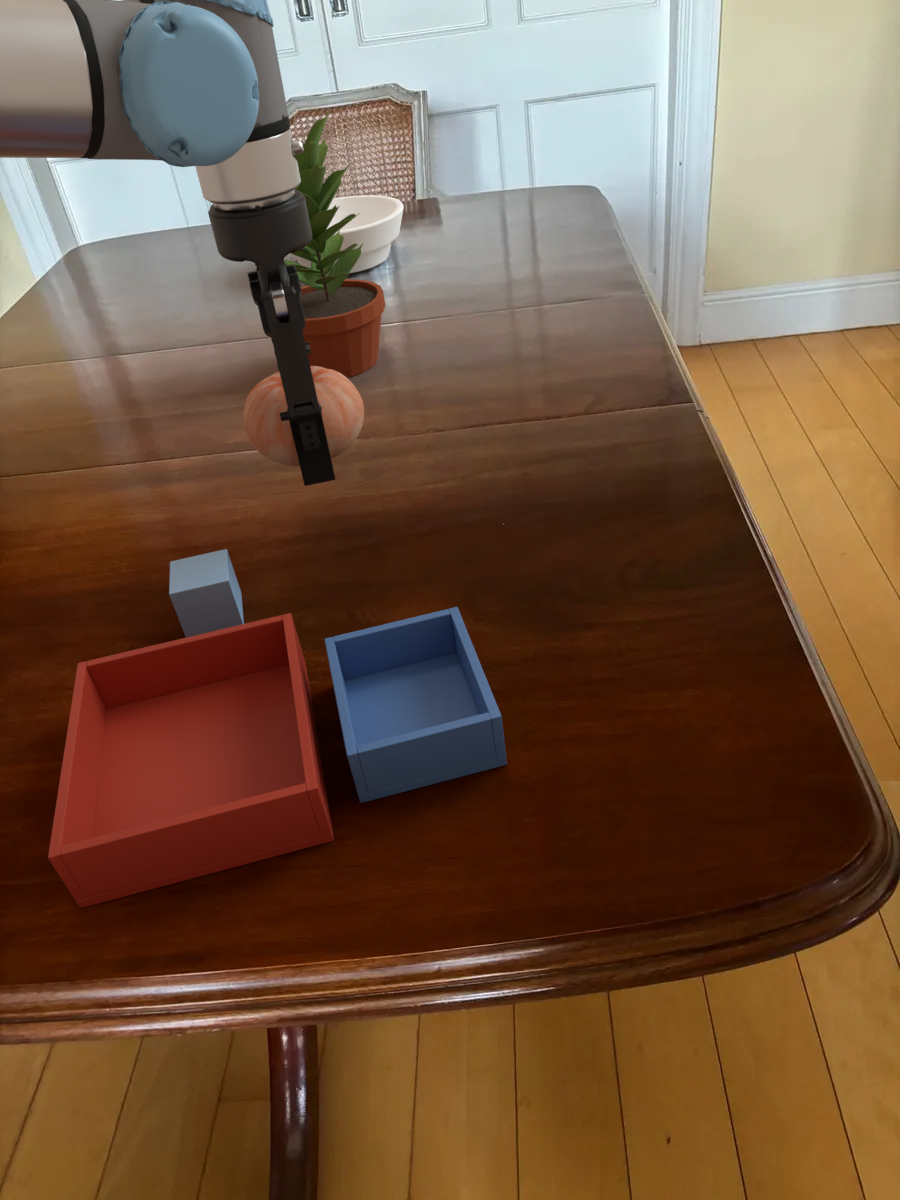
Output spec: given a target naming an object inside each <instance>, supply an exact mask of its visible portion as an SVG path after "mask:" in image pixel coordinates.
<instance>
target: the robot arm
mask: <svg viewBox="0 0 900 1200" xmlns="http://www.w3.org/2000/svg"><path fill="white" fill-rule="evenodd" d="M274 27H275V26H274V20H273V17H272V15H271V11H270V7H269V3H268V0H0V159H88V160H110V161H111V160H117V161H118V160H122V161H123V160H124V161H125V160H126V161H128V160H130V161H131V160H132V161H133V160H134V161H162V162H164V163H166V164H168V165H169V166H172V167H179V168H190V167H195V171H196V174H197V178H198V181H199V186H200V189H201V193H202V197H203V199H204V200H206V201H208V202H210V203H211V205H210V207H209V210H208V212H207V213H208V218H209V222H210V225H211V230H212V233H213V238H214V241H215V244H216V249H217V252H218V255H220V256H221V257H222V258H224V259H226V260H228V261H231V262H238V263H243V262H246V261H247V262H251V263H254V266H255V270H254V271H249V272H247V278H248V283H249V289H250V292H251V297H252V300H253V302H254V304H255V305H256V306H257V309H258V312H259V313H258V314H259V317H260V321H261V325H262V330H263V333H264V334H265V336H266V337H268V338H270V339H271V344H272V345H273V352H274V356H275V359H276V365H277V369H278V372H280V376H281V381H282V385H283V389H284V393H285V398H286V402H287V406H288V408H287V409H286V410H287V411H286V412H281V413H280V418H281V421H286V420H289V422H290V427H291V431H292V435H293V439H294V443H295V448H296V452H297V456H298V460H299V464H300V466H299V469H300V472H301V476H302V477H301V478H302V482H303V485H304V487H307V486H312V485H317V484H322V483H326V482H330V481H335V480H336V476H335V471H334V466H333V462H332V459H331V456H330V451H329V447H328V442H327V437H326V433H325V428H324V423H323V419H322V413H321V411H322V408H321V404H320V403H318V399H317V394H316V390H315V385H314V381H313V376H312V372H311V367H310V363H309V358H308V354H311V349H310V345H309V342H305V340H304V336H303V330H304V329H305V327H306V323H305V317H304V313H303V308H302V304H301V299H300V297H301V295H302V292H301V287H302V286H301V282H300V281H299V277H298V273H297V272H296V268H295V264H292V265H287V266H286V265H285V261H284V260H285V258H286V257H287V256H289V255H288V254H290V253H291V252H298V251H300V250H301V249H303V248H305V247H306V246H307V245H308V244H309V243H310V241H311V239H312V231H311V226H310V221H309V216H308V210H307V205H306V200H305V196H304V195H303V194H302V193H301V192H300V191H298V190H295V189H296V188H297V187H298V186H299V184H300V182H301V179H300V173H299V168H298V163H297V160H296V159H295V158H294V157H293V155H298V154H301V153H302V152H303V150H304V149H303V144H304V143H303V142H302V141H301V140H300V139H293V138H292V137H293V132H292V130H291V122H290V121H291V120H290V117H289V111H288V106H287V99H286V94H285V90H284V83H283V79H282V73H281V68H280V63H279V57H278V52H277V47H276V41H275V37H274V29H273V28H274ZM292 139H293V140H292Z"/></svg>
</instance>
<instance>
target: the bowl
mask: <svg viewBox="0 0 900 1200" xmlns="http://www.w3.org/2000/svg"><path fill="white" fill-rule="evenodd" d="M335 205H336V207H338V206H339V205H340V206H339V208H338V210H337V212H336V213H335V215H334V217H333V219H332V220H331V222H330V224H329V226H328V228H329V227H331V226H333V225H334V224H336V223H339V222H340V221H341V220H343V219H344V218H346V217H347V216H349V215H351V214H355V215H357V216H356V217H355V218H354V219H352V220H351V221H350V222H349V223H347V224H346V225H345V226H344V227H342V228H341V229H340V233H339V235H341V236H343V237H344V240H343V243H342V246H341V249H340V251H342V250H345V249H346V248H348V247H349V246H351V245H353V244H355V243H356V244H357V246H356V247H354V248H353V249H357V248H359V247H360V246H361V244H362V243H363V242H364V243H363V245H362V247H361V255H360V257H359V259H358V260H357V262H356V263H355V265H354V266H353V268H352V269H351V271H350V272H349V274H353V273H358V272H362V271H366V270H369V269H372V268H374V267H375V266H378V265H380V264H382V263H384V262H385V261H386V260H387V259H388V258H389V256H390V252H391V246H392V242H393V241H394V240H396V239H397V238H398V237H399V235H400V231H401V226H402V219H403V214H404V203H403V202H401V200H399V199H397V198H395V197H392V196H386V195H378V194H377V195H375V194H374V195H373V194H372V195H371V194H365V195H364V194H362V195H361V194H360V195H349V196H339V197H334V198H333V200H332V202H331V204H330V206H329V208H328V210H329V209H332V208H333V207H334V206H335ZM359 213H360V214H359ZM358 214H359V215H358ZM328 228H327V229H328ZM337 232H338V231H337ZM337 232H336V233H335V234H334V235H336V234H337ZM332 236H333V235H332ZM287 256H290V257H293V258H295V259H296V261H297V263H298V264H300V265H302V266H305V267H308V268H311V261H309V260H306V259H304V258H301V257H298V256H296V255H293V254H291V253H290V254H288V255H287ZM338 259H339V258H338ZM338 259H337V260H338ZM337 260H336V261H335V263H336V262H337ZM335 263H334V264H335ZM333 266H334V265H333ZM328 274H329V273H328ZM328 274H327V275H325V277H327V276H328Z"/></svg>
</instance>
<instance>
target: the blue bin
mask: <svg viewBox="0 0 900 1200" xmlns="http://www.w3.org/2000/svg"><path fill="white" fill-rule="evenodd" d="M324 644H325V651H326V655H327V660H328V661H327V662H328V666H329V671H330V677H331V681H332V687H333V691H334V696H335V702H336V707H337V711H338V717H339V722H340V727H341V733H342V737H343V743H344V749H345V753H346V757H347V761H348V766H349V769H350V772H351V776H352V780H353V784H354V786H355V787H354V788H355V791H356V794H357V797H358V802H359V803H360V804H363V803H367V802H372V801H375V800H378V799H381V798H385V797H390V796H393V795H397V794H401V793H405V792H409V791H412V790H417V789H420V788H423V787H428V786H431V785H435V784H439V783H443V782H446V781H451V780H455V779H458V778H462V777H465V776H469V775H473V774H477V773H481V772H485V771H489V770H492V769H496V768H500V767H504V766H507V764H508V761H507V759H508V758H507V752H506V751H507V750H506V743H505V733H504V724H503V717H502V713H501V712H500V709H499V706H498V703H497V701H496V699H495V697H494V694H493V691H492V689H491V687H490V684H489V682H488V679H487V677H486V674H485V672H484V669H483V667H482V664H481V662H480V659H479V657H478V654H477V652H476V649H475V647H474V644H473V642H472V639H471V637H470V634H469V632H468V629H467V627H466V625H465V622H464V619H463V617H462V614H461V611H460V610H459V607H458V606H454V607H450V608H446V609H442V610H437V611H433V612H429V613H425V614H421V615H417V616H413V617H408V618H404V619H401V620H395V621H392V622H388V623H384V624H381V625H380V624H379V625H376V626H371V627H367V628H363V629H359V630H355V631H350V632H347V633H342V634H338V635H334V636H330V637H325V638H324Z"/></svg>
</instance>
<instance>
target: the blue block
mask: <svg viewBox="0 0 900 1200" xmlns="http://www.w3.org/2000/svg"><path fill="white" fill-rule="evenodd" d="M168 581H169V584H168V588H169V589H168V595H169V598H170V600H171V603H172V605H173V608H174V610H175V614H176V616H177V618H178V621H179V624H180V626H181V627H182V628H181V629H182V631H183V634H184V636H185V638H187V637H191V636H195V635H199V634H204V633H208V632H212V631H216V630H221V629H225V628H229V627H233V626H237V625H242V624H245V620H244V609H243V606H244V605H243V595H242V591H241V587H240V583H239V582H238V578H237V576H236V572H235V569H234V566H233V563H232V561H231V557H230V554H229V551H228V549H227V548H224V549H220V550H215V551H211V552H207V553H202V554H198V555H193V556H189V557H185V558H180V559H176V560H171V561H170V562H169V580H168Z"/></svg>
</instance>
